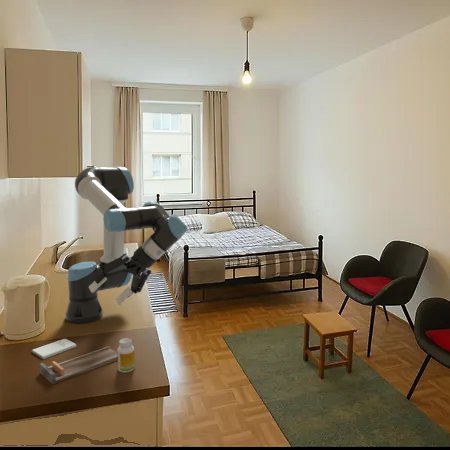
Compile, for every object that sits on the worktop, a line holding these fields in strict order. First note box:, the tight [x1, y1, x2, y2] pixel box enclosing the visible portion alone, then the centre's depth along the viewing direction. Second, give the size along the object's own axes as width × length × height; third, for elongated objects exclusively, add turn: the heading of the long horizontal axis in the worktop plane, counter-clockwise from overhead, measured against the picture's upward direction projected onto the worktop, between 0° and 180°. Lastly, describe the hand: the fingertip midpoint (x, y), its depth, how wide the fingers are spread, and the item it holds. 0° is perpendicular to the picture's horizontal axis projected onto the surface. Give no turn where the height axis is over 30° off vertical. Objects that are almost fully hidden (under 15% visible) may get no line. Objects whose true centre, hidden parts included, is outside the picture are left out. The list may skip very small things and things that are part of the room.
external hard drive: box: [31, 338, 77, 360], centre depth 144 cm, size 2×8×12 cm
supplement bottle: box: [116, 337, 136, 373], centre depth 130 cm, size 5×5×10 cm
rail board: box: [39, 345, 118, 385], centre depth 133 cm, size 10×24×3 cm, turn 135°
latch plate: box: [51, 360, 64, 376], centre depth 127 cm, size 7×1×2 cm, turn 45°
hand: (104, 296), depth 137 cm, fingers open, 13 cm apart
